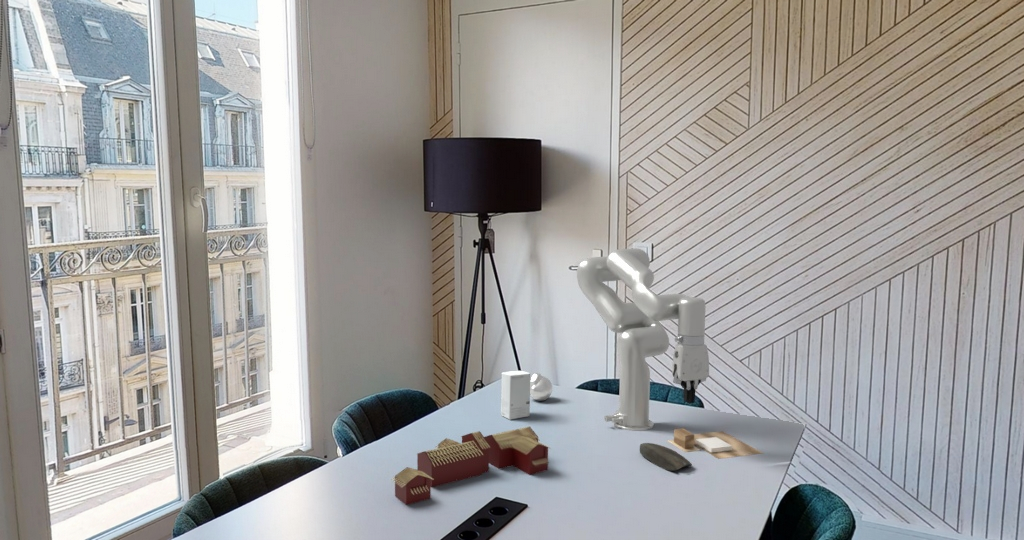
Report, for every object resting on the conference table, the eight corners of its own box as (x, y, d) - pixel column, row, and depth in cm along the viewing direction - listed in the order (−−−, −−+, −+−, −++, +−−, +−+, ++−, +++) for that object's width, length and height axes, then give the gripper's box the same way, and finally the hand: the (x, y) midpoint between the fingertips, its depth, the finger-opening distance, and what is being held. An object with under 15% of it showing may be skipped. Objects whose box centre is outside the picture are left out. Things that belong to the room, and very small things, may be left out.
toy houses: (515, 448, 208) (515, 414, 207) (559, 471, 191) (559, 434, 190) (371, 482, 182) (371, 444, 181) (407, 512, 166) (407, 470, 165)
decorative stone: (695, 471, 191) (695, 456, 191) (677, 476, 188) (678, 461, 187) (650, 452, 206) (651, 438, 205) (633, 456, 202) (634, 442, 202)
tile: (695, 444, 210) (711, 453, 203) (695, 439, 210) (711, 448, 203) (716, 441, 212) (732, 450, 205) (716, 437, 212) (732, 446, 205)
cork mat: (718, 460, 199) (718, 458, 199) (680, 437, 218) (680, 435, 217) (763, 455, 203) (763, 453, 203) (722, 432, 222) (722, 431, 222)
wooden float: (685, 455, 204) (686, 438, 203) (667, 443, 213) (667, 427, 213) (700, 453, 205) (701, 436, 205) (681, 442, 215) (682, 425, 214)
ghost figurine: (527, 396, 261) (527, 369, 260) (552, 397, 260) (553, 370, 259) (525, 403, 252) (525, 375, 251) (551, 404, 251) (552, 376, 250)
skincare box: (509, 420, 233) (509, 375, 232) (499, 415, 238) (500, 372, 237) (530, 416, 238) (531, 372, 236) (520, 411, 243) (521, 368, 241)
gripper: (676, 344, 200) (674, 408, 201) (720, 340, 205) (718, 402, 207) (661, 339, 207) (660, 401, 208) (704, 336, 212) (702, 396, 214)
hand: (689, 401), depth 208 cm, fingers closed
